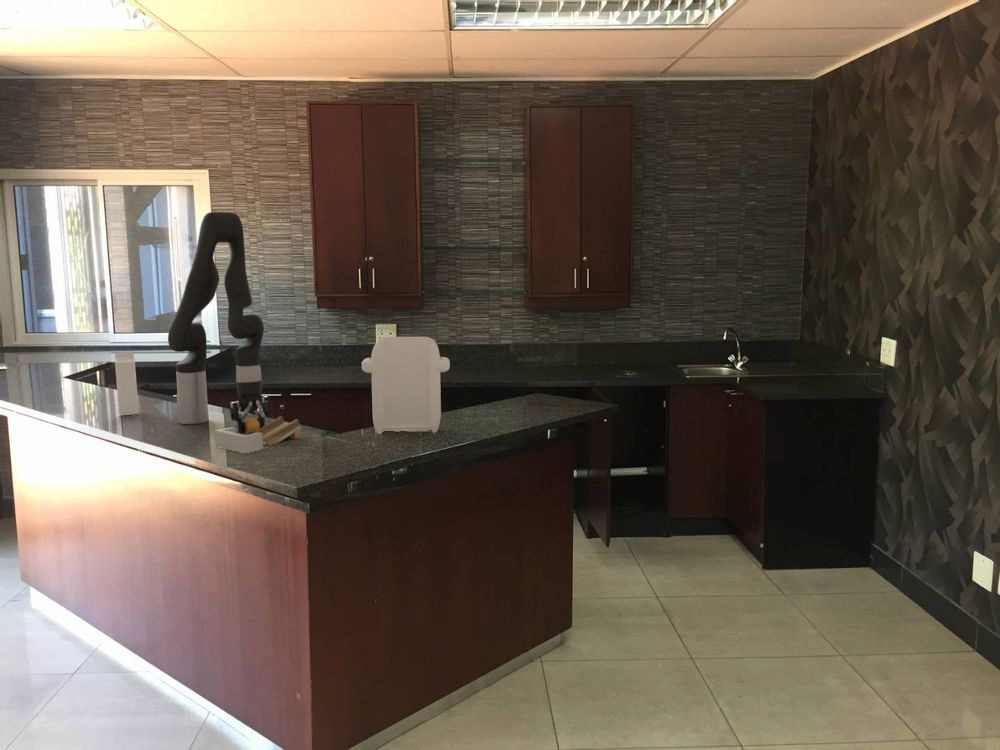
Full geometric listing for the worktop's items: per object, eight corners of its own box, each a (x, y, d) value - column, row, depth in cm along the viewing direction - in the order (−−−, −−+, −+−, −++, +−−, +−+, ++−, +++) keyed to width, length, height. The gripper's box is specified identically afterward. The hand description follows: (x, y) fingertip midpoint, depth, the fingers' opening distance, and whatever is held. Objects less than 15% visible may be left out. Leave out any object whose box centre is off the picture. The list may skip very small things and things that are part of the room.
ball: (240, 434, 260) (239, 418, 260) (253, 431, 264) (252, 415, 264) (250, 436, 257) (249, 420, 257) (263, 433, 261) (262, 417, 261)
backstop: (215, 447, 244) (214, 430, 243) (233, 443, 248) (232, 426, 248) (245, 454, 235) (244, 436, 235) (262, 449, 240) (261, 432, 239)
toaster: (451, 426, 271) (449, 334, 266) (450, 434, 259) (448, 338, 255) (367, 427, 270) (364, 335, 265) (362, 435, 259) (359, 339, 254)
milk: (137, 415, 290) (133, 353, 287) (118, 416, 288) (114, 353, 285) (138, 412, 296) (134, 350, 292) (120, 413, 294) (115, 351, 290)
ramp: (249, 445, 250) (248, 423, 249) (283, 437, 260) (282, 415, 259) (266, 449, 245) (265, 426, 244) (301, 440, 255) (300, 419, 254)
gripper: (260, 375, 266) (262, 426, 269) (221, 381, 255) (224, 434, 257) (275, 377, 262) (277, 429, 264) (236, 383, 250) (239, 437, 253)
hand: (251, 431), depth 261 cm, fingers open, 6 cm apart
